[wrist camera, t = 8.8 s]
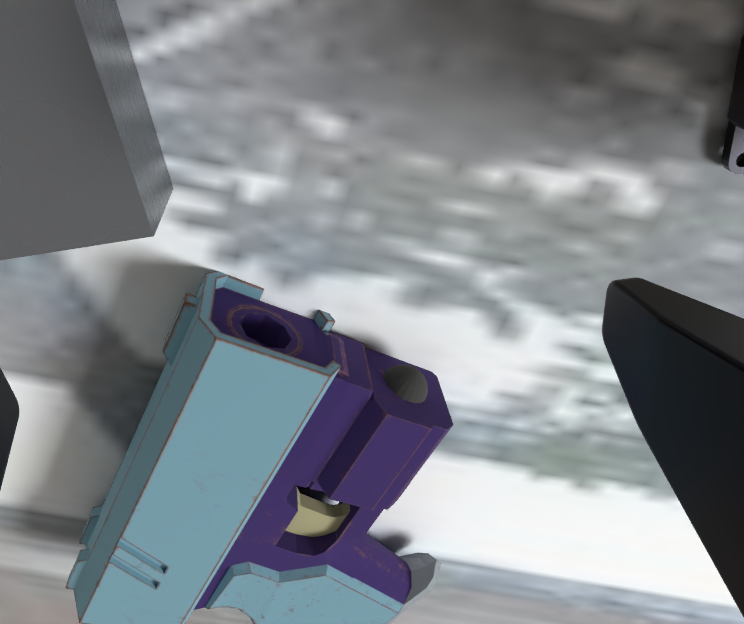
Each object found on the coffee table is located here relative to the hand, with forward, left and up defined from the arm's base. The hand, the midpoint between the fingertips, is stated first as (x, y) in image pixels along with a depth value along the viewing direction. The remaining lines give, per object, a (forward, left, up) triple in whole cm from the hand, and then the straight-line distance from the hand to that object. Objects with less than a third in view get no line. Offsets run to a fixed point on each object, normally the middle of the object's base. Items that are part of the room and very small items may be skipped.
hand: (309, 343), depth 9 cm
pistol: (+2, +15, -12) cm, 19 cm away
